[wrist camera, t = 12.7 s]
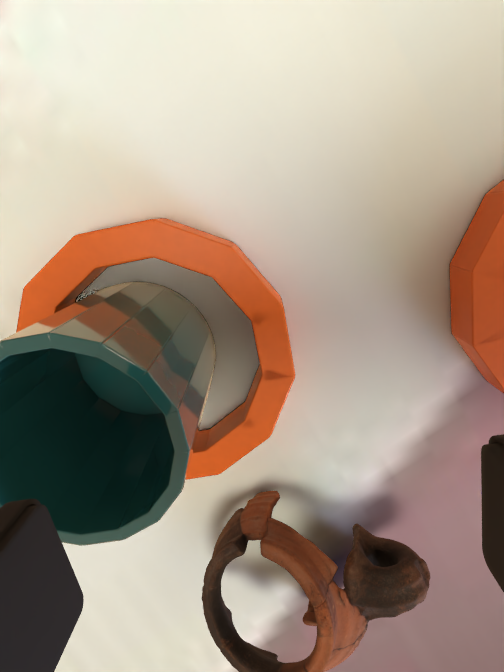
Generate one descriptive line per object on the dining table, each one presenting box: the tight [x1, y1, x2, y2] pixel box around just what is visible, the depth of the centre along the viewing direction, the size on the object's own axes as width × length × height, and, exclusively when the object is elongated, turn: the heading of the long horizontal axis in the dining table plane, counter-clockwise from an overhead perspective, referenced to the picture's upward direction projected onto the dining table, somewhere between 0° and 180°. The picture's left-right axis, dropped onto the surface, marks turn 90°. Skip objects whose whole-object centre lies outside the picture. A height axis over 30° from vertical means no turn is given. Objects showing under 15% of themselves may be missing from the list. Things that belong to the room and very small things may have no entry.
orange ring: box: [16, 218, 295, 479], centre depth 20 cm, size 13×13×2 cm
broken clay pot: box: [202, 491, 430, 672], centre depth 22 cm, size 12×9×8 cm
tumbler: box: [0, 282, 216, 545], centre depth 17 cm, size 8×8×9 cm
